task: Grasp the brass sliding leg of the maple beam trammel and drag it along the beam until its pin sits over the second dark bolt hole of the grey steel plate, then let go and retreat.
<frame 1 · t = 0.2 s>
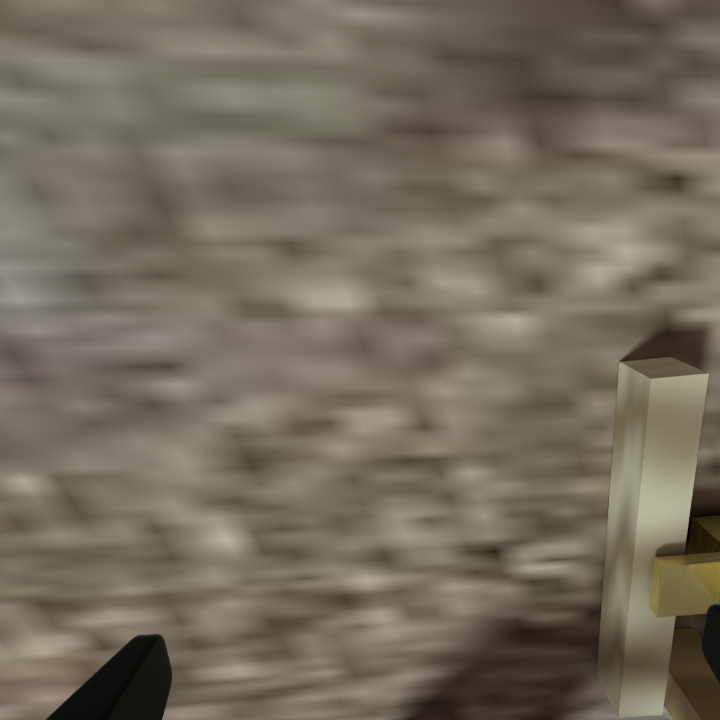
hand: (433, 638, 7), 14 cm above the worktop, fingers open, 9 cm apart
trammel beam: (629, 536, 24), on the worktop
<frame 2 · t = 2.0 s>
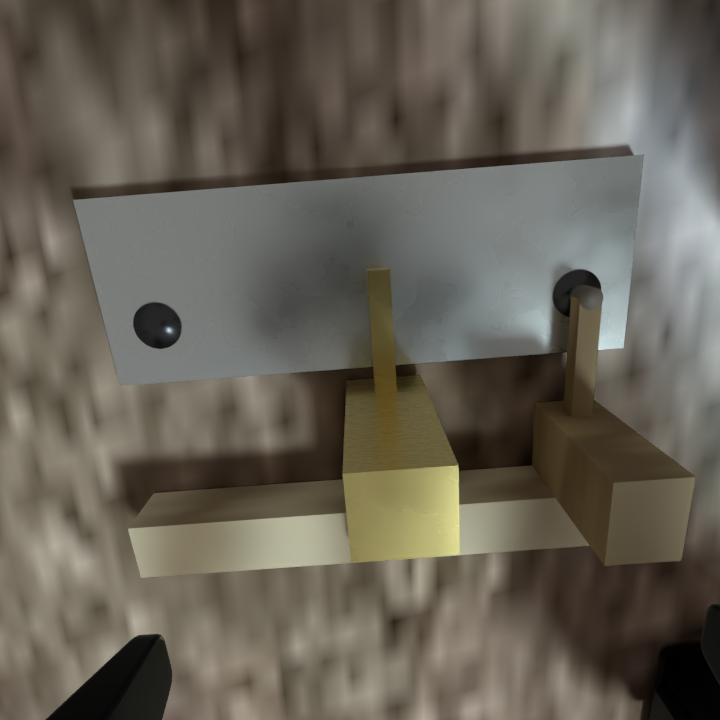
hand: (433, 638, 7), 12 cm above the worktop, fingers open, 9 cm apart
bolt plate: (363, 276, 17), on the worktop
trammel beam: (379, 499, 20), on the worktop
sliding leg: (391, 437, 15), point 4 cm above the worktop, slide at 7.5 cm
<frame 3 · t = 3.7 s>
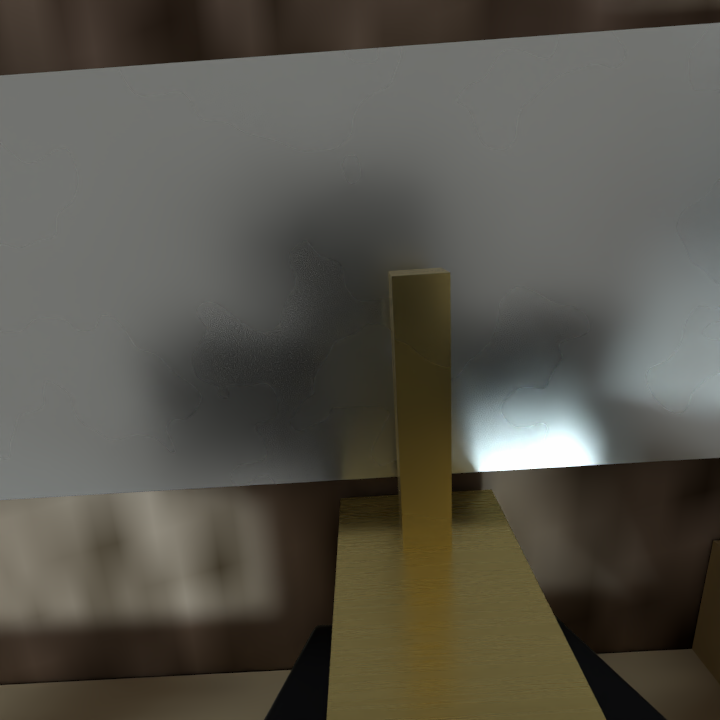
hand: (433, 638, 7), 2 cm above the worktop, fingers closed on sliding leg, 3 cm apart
bolt plate: (379, 287, 8), on the worktop
trammel beam: (400, 701, 11), on the worktop
sliding leg: (450, 709, 6), point 4 cm above the worktop, slide at 7.5 cm, touching gripper
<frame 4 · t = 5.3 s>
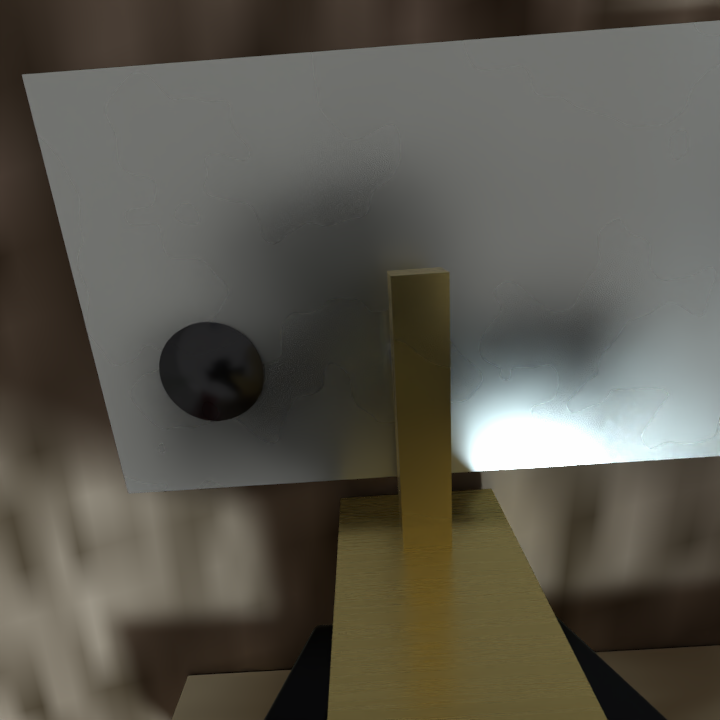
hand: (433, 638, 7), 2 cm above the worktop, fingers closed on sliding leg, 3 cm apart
bolt plate: (663, 267, 8), on the worktop
trammel beam: (609, 689, 11), on the worktop
sliding leg: (451, 708, 6), point 4 cm above the worktop, slide at 12.5 cm, touching gripper
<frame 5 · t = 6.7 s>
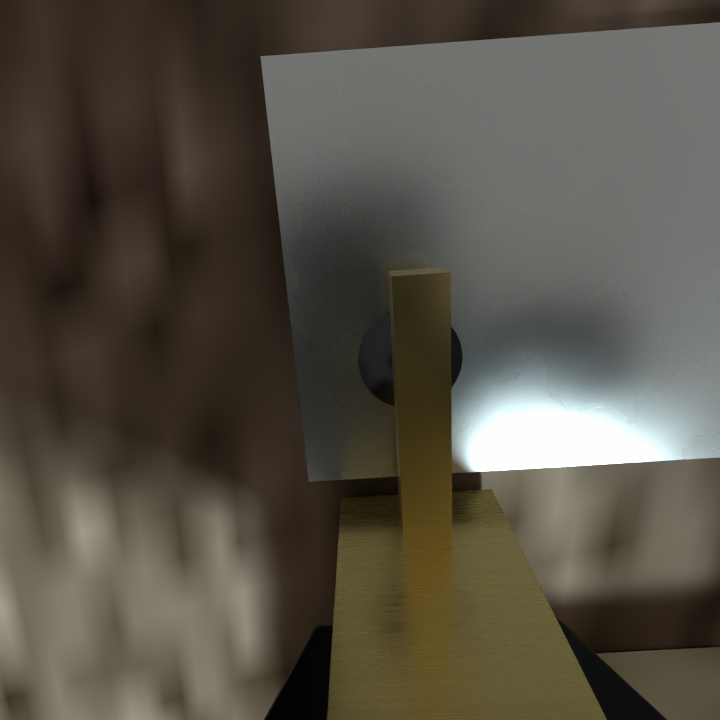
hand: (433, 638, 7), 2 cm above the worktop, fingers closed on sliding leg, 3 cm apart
sliding leg: (451, 708, 6), point 4 cm above the worktop, slide at 15.9 cm, touching gripper
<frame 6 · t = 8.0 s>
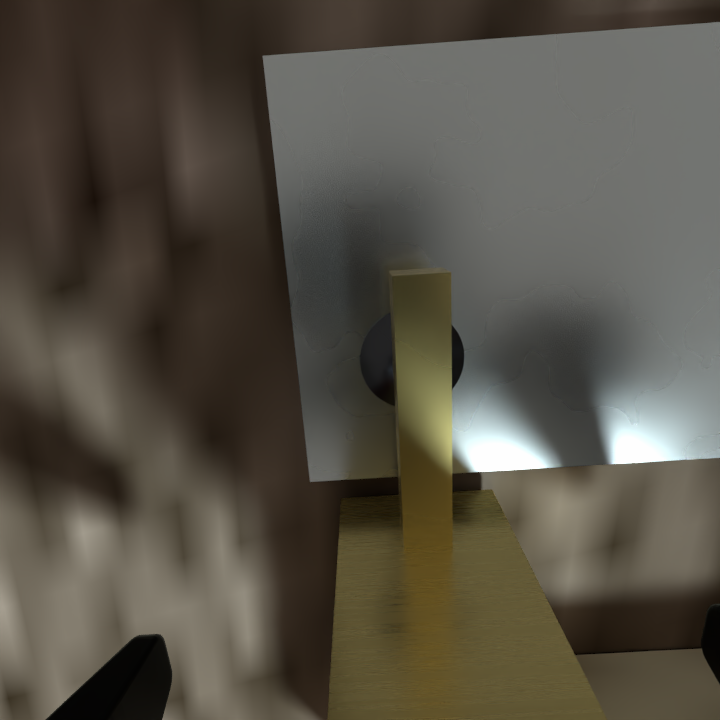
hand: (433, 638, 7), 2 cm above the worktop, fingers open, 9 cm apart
sliding leg: (451, 709, 6), point 4 cm above the worktop, slide at 16.0 cm
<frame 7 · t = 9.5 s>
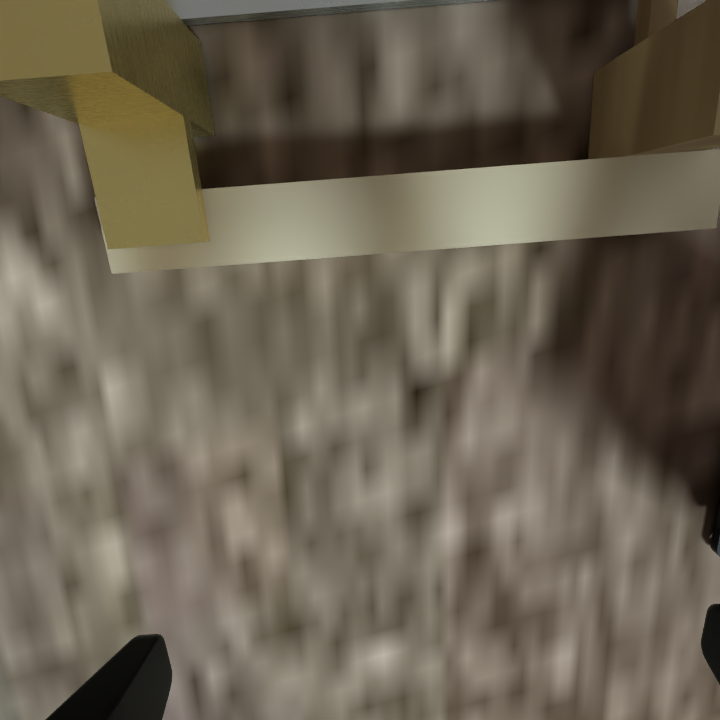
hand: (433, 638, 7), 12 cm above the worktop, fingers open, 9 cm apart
trammel beam: (402, 214, 17), on the worktop
sliding leg: (107, 36, 12), point 4 cm above the worktop, slide at 16.0 cm
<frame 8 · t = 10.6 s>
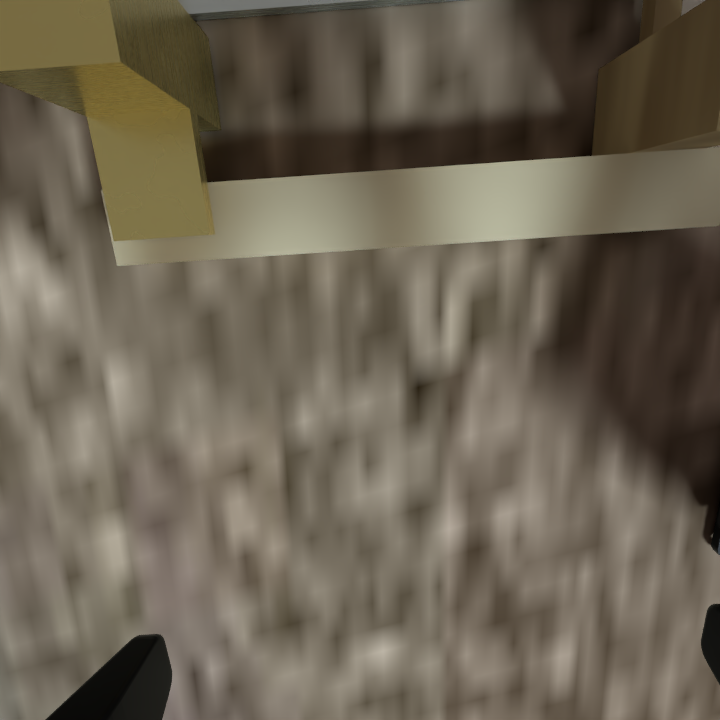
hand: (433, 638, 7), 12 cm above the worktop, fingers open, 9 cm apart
trammel beam: (406, 210, 17), on the worktop
sliding leg: (116, 29, 12), point 4 cm above the worktop, slide at 16.0 cm
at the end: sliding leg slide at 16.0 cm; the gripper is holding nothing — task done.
